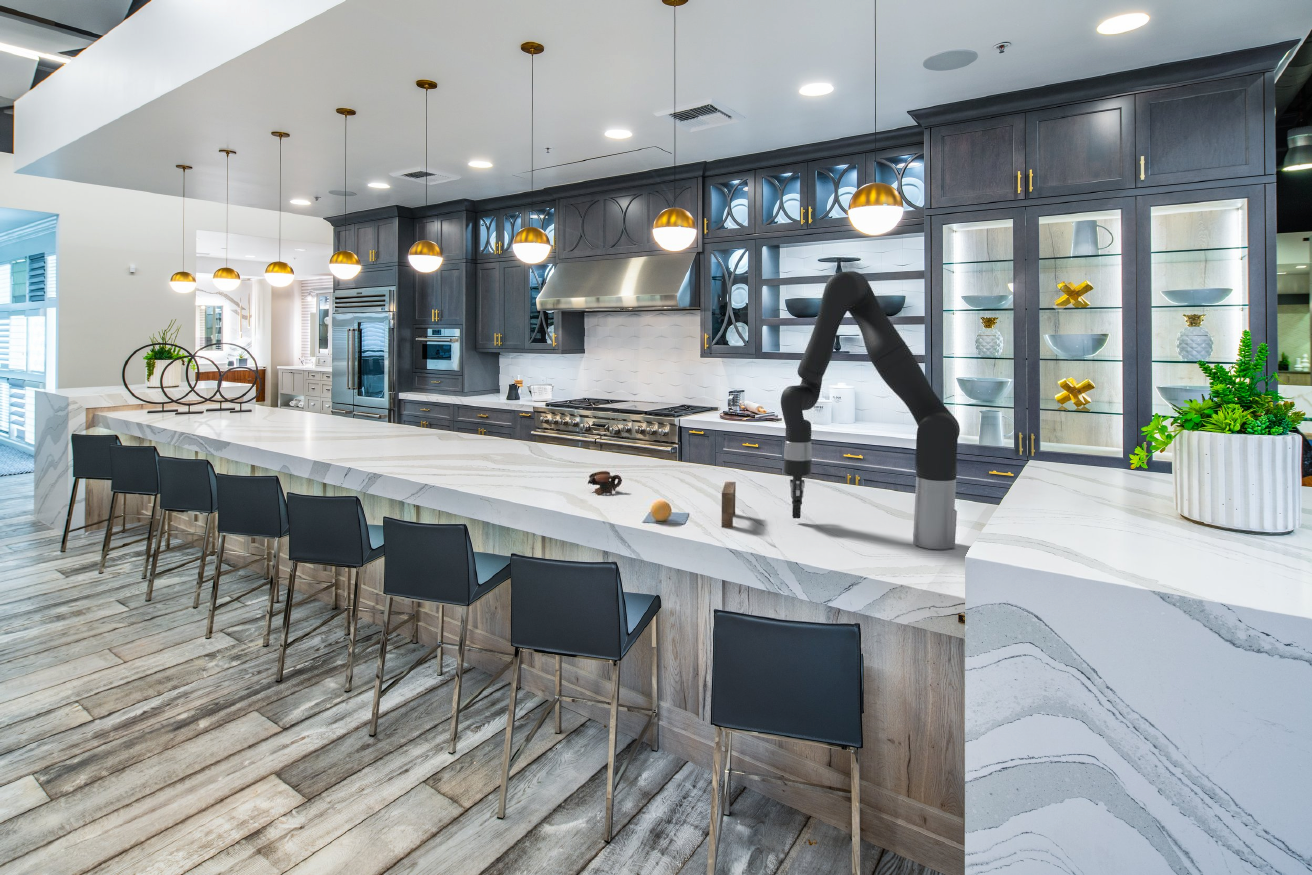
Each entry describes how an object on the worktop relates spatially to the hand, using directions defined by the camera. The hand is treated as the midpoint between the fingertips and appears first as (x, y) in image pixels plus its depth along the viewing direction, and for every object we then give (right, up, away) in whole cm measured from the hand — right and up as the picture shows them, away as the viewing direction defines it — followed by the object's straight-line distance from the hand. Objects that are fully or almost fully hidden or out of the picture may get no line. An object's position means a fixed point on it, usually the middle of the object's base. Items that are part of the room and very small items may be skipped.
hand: (796, 517), depth 193 cm
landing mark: (-37, -1, +6) cm, 37 cm away
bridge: (-19, -1, +3) cm, 19 cm away
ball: (-38, +2, +3) cm, 38 cm away
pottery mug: (-57, +4, +41) cm, 70 cm away
